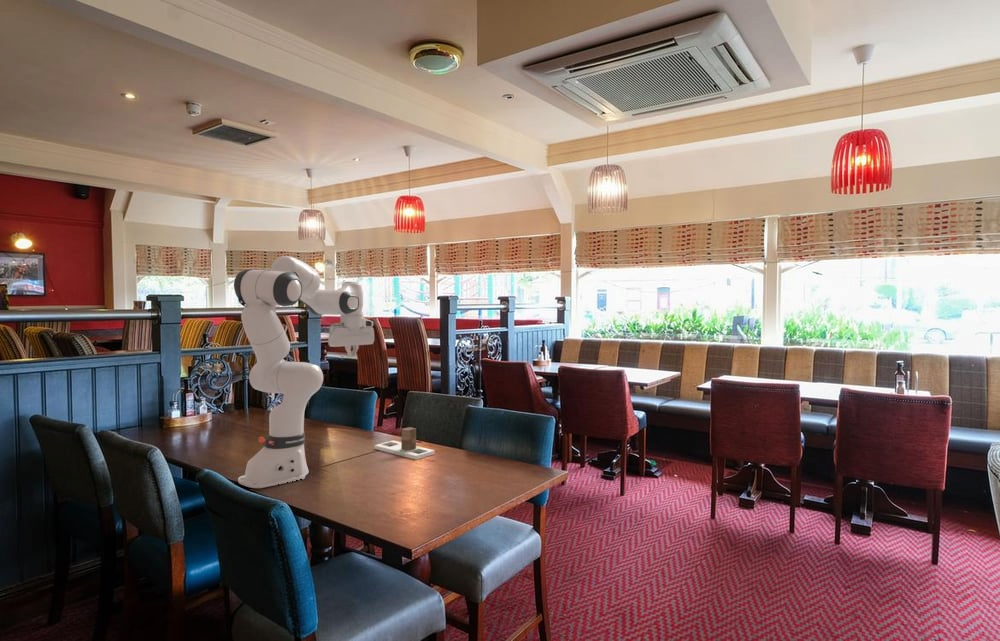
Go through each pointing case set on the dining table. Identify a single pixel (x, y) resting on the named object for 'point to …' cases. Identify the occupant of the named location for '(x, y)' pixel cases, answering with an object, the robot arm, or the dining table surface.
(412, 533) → the dining table surface
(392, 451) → the board
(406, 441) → the walnut block
